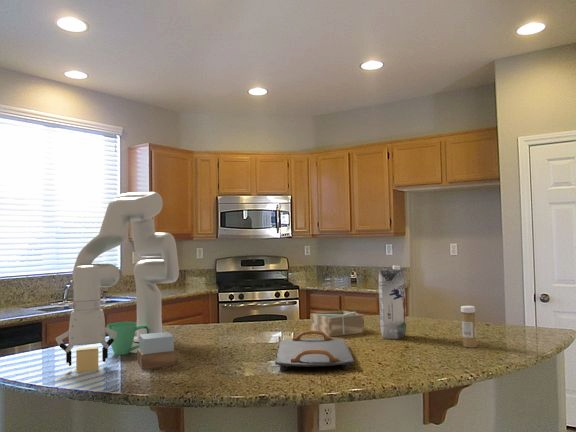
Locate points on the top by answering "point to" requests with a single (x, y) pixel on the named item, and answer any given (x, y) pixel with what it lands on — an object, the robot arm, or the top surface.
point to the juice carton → (392, 303)
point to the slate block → (156, 342)
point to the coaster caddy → (337, 323)
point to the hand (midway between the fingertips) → (87, 362)
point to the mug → (125, 336)
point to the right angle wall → (335, 316)
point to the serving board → (313, 352)
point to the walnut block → (155, 359)
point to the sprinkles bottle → (468, 326)
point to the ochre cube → (86, 359)
